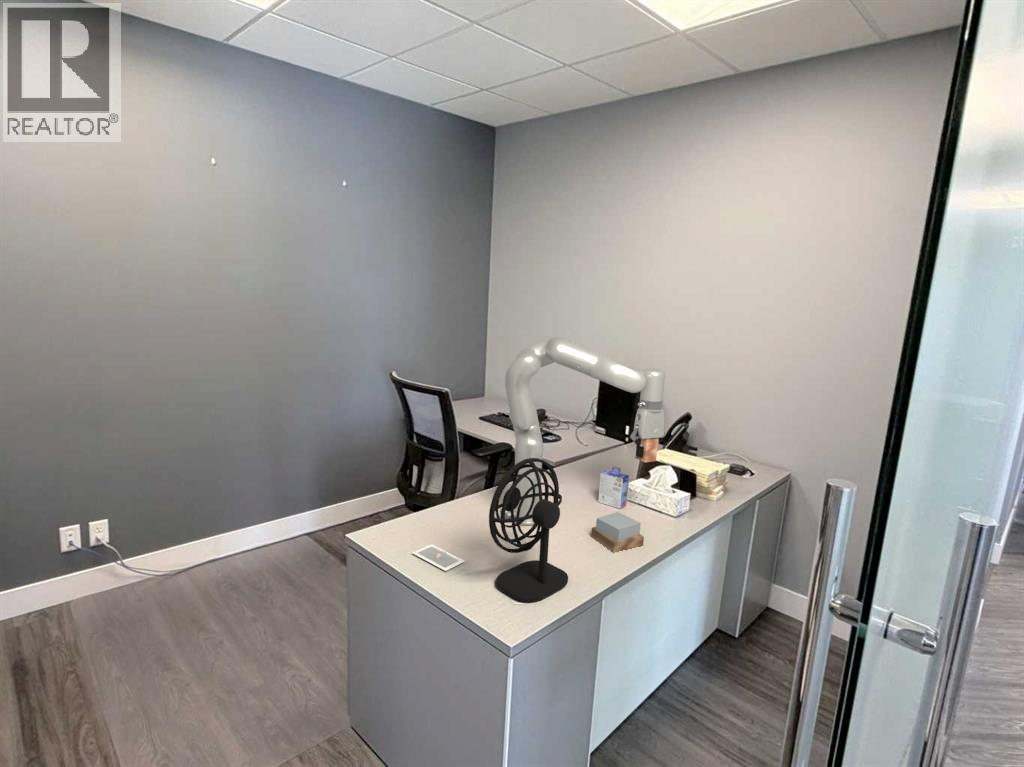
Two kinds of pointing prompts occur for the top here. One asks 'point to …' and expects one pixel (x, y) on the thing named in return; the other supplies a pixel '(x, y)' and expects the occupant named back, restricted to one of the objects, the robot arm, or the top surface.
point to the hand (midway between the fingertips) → (646, 455)
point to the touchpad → (438, 557)
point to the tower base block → (615, 545)
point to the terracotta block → (649, 450)
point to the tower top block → (618, 526)
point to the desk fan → (528, 533)
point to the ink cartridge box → (613, 488)
